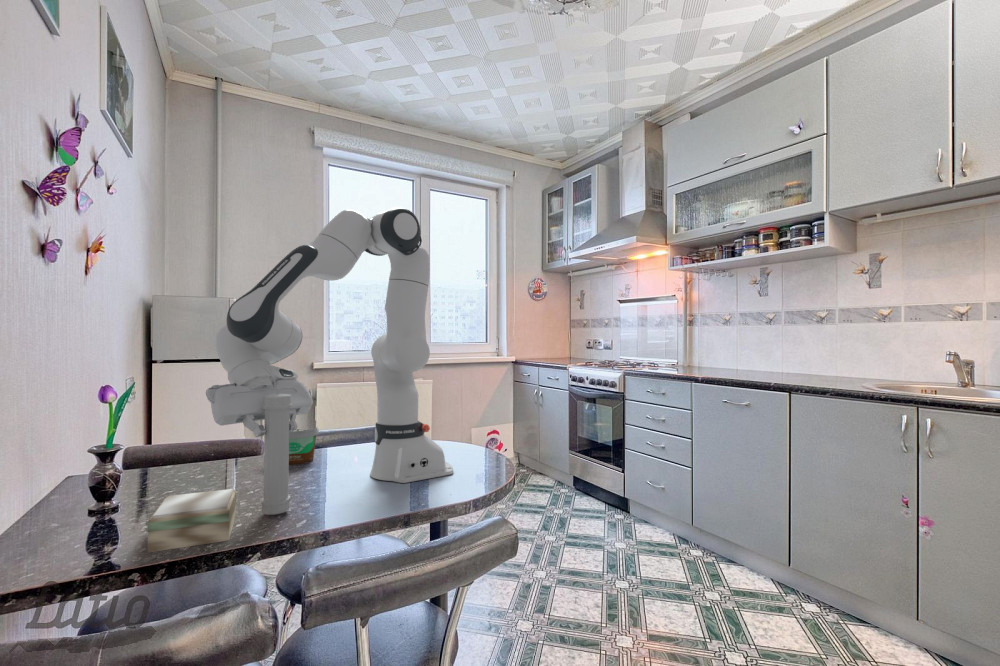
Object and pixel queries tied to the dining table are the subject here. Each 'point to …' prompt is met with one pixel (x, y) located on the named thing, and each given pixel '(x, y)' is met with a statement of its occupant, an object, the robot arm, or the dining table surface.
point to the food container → (302, 446)
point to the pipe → (276, 453)
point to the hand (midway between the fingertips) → (277, 432)
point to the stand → (192, 520)
